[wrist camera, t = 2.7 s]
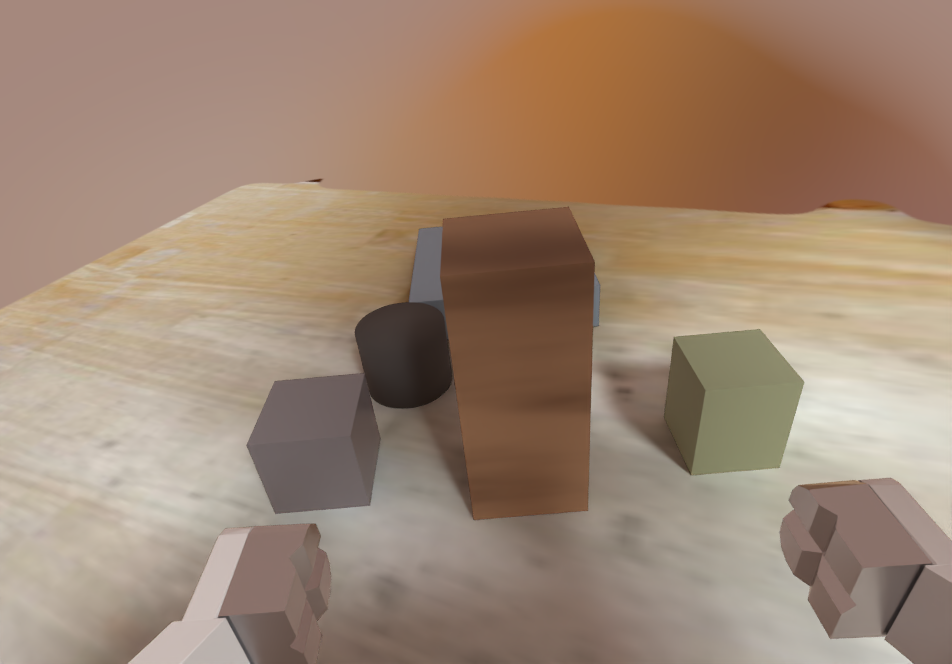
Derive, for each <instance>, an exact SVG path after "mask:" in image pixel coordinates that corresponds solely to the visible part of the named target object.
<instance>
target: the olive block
mask: <svg viewBox="0 0 952 664" xmlns="http://www.w3.org/2000/svg"><path fill="white" fill-rule="evenodd" d="M803 385H804V381H803V380H802V379H801V377H800V376H799V375H798V374H797V373H796V371H795V370H794V369H793V368H792V367H791V366H790V364H789V363H788V362H787V361H786V360H785V358H784V357H783V356H782V355H781V354H780V353H779V351H778V350H777V349H776V348H775V347H774V345H773V344H772V343H771V342H770V341H769V339H768V338H767V337H766V336H765V335H764V334H763V332H762V331H761V330H760V329H757V330H745V331H734V332H723V333H712V334H700V335H689V336H678V337H674V340H673V348H672V356H671V364H670V372H669V380H668V388H667V396H666V404H665V413H664V418H665V420H666V422H667V424H668V427H669V429H670V431H671V433H672V435H673V437H674V440H675V442H676V444H677V446H678V448H679V450H680V452H681V455H682V457H683V459H684V461H685V463H686V465H687V467H688V470H689V472H690V474H691V475H701V474H712V473H724V472H736V471H748V470H760V469H772V468H780V464H781V461H782V457H783V454H784V450H785V447H786V444H787V440H788V437H789V433H790V430H791V426H792V423H793V419H794V416H795V413H796V409H797V406H798V402H799V399H800V395H801V392H802V388H803Z"/></svg>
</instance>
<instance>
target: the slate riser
mask: <svg viewBox="0 0 952 664" xmlns="http://www.w3.org/2000/svg"><path fill="white" fill-rule="evenodd" d="M442 230H443V227H433V228H423V229H419V234H418V241H417V248H416V255H415V261H414V268H413V275H412V282H411V289H410V296H409V302H417V303H424V304H428V305H431V306H433V307H435V308H437V309H438V310H439V311H441V313H442V314H443V316H444V321H445V328H446V335H447V340H449V338H448V331H447V324H446V316H445V309H444V302H443V295H442V288H441V280H440V267H441V248H442ZM599 305H600V284H599V282H598V279H597V277H596V275H595V273H594V308H593V326H599Z"/></svg>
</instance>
